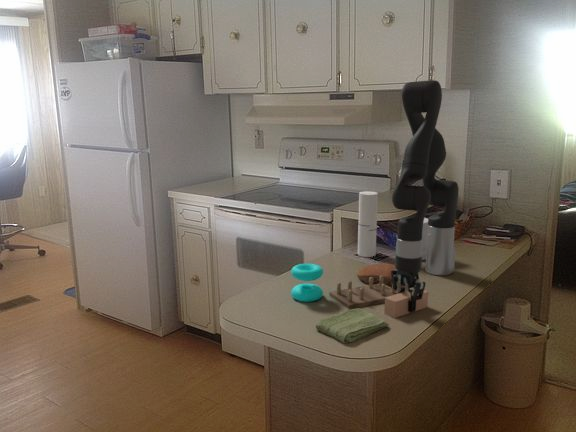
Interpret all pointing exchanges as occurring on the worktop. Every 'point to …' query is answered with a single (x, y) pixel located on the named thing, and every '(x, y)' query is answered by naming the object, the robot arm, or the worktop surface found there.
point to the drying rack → (362, 294)
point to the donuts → (307, 290)
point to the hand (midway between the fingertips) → (406, 308)
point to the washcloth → (351, 325)
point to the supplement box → (424, 238)
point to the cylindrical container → (367, 223)
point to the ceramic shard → (376, 273)
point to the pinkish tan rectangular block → (403, 304)
